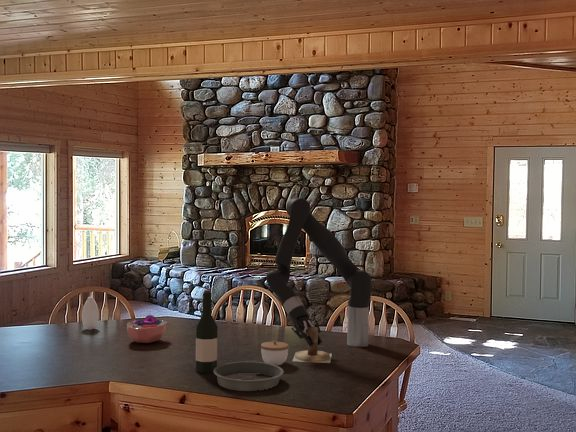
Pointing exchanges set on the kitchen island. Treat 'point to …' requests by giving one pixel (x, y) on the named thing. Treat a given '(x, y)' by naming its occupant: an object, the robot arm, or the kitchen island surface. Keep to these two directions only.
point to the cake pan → (248, 368)
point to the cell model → (146, 329)
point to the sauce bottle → (90, 313)
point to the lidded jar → (274, 352)
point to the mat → (318, 362)
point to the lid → (312, 349)
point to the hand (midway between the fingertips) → (316, 344)
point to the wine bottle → (206, 338)
